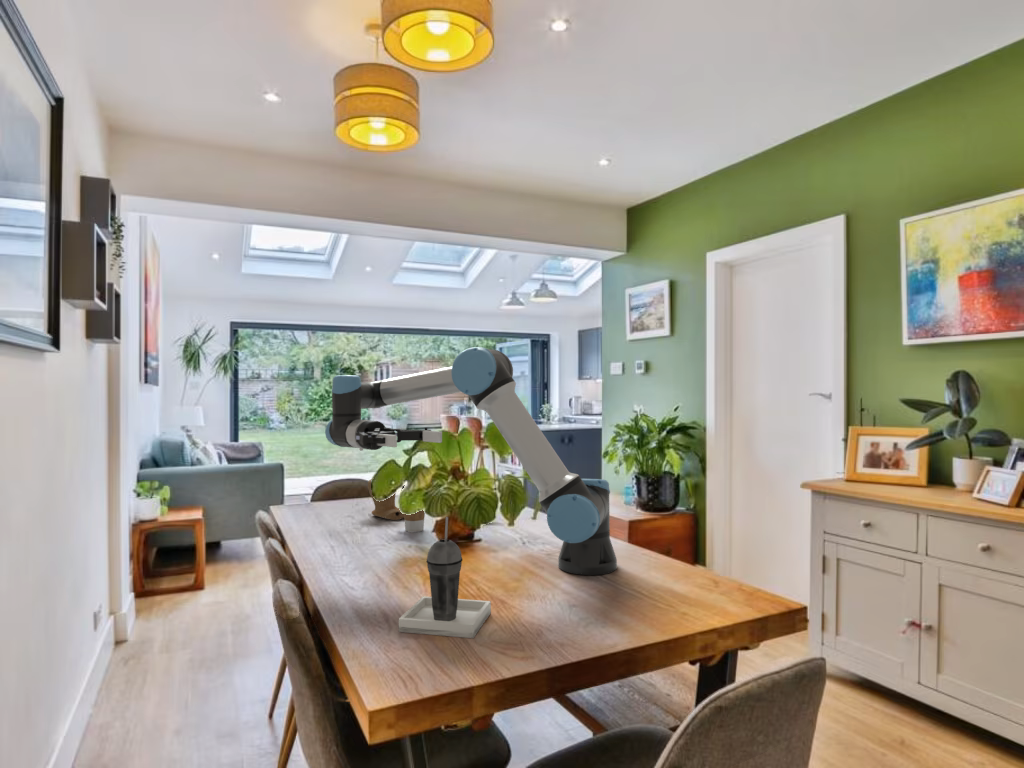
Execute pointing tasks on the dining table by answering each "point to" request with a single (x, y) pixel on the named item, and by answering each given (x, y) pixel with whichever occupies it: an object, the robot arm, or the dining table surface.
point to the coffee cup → (414, 521)
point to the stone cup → (386, 507)
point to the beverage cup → (444, 577)
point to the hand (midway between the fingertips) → (419, 439)
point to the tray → (463, 625)
